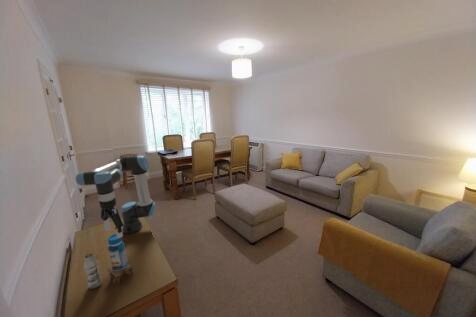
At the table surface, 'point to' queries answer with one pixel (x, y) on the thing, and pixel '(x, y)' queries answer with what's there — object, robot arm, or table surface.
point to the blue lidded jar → (117, 253)
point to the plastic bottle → (92, 271)
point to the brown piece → (120, 272)
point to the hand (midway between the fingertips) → (114, 233)
